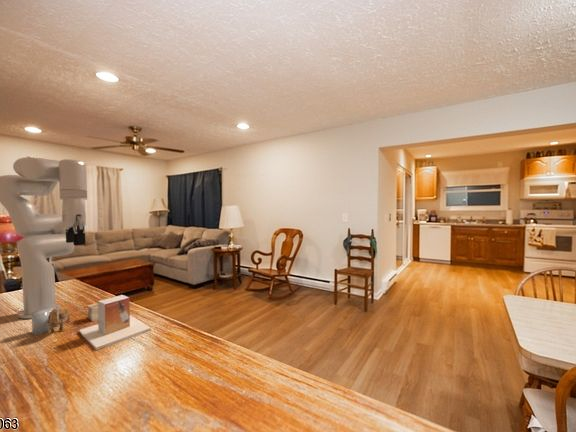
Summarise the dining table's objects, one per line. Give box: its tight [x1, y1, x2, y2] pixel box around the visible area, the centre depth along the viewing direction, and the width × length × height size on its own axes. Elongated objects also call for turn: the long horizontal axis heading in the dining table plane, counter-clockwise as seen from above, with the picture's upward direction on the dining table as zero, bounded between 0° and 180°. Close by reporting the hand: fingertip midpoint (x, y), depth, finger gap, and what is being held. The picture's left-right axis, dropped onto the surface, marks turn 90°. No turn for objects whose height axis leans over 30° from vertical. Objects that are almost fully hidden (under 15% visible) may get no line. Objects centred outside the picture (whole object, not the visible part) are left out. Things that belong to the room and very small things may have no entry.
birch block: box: [87, 302, 98, 322], centre depth 102 cm, size 5×5×5 cm
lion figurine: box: [48, 306, 71, 335], centre depth 93 cm, size 15×5×9 cm, turn 36°
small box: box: [97, 294, 131, 335], centre depth 91 cm, size 8×6×10 cm
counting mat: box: [78, 314, 152, 351], centre depth 91 cm, size 18×16×1 cm
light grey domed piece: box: [31, 309, 51, 336], centre depth 90 cm, size 4×4×7 cm
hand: (75, 243), depth 93 cm, fingers open, 9 cm apart
